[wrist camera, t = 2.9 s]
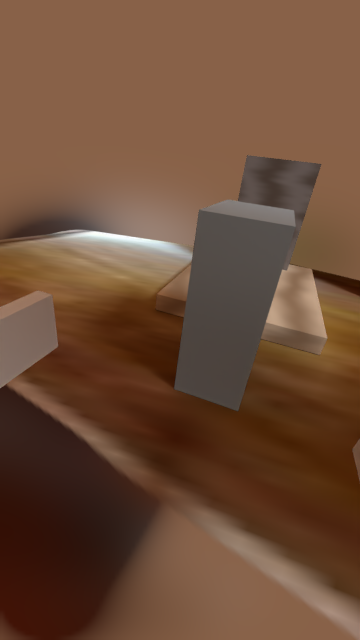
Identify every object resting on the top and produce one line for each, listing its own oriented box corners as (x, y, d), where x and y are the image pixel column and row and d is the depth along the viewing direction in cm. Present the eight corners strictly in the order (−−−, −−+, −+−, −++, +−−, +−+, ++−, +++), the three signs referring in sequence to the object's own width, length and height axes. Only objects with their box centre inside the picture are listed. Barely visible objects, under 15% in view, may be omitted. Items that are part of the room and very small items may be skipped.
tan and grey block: (307, 280, 48) (348, 168, 39) (319, 355, 28) (408, 160, 19) (207, 258, 52) (225, 154, 44) (155, 309, 32) (169, 134, 24)
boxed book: (251, 352, 27) (294, 210, 20) (238, 411, 20) (295, 226, 14) (202, 338, 28) (227, 199, 21) (174, 389, 21) (199, 210, 15)
